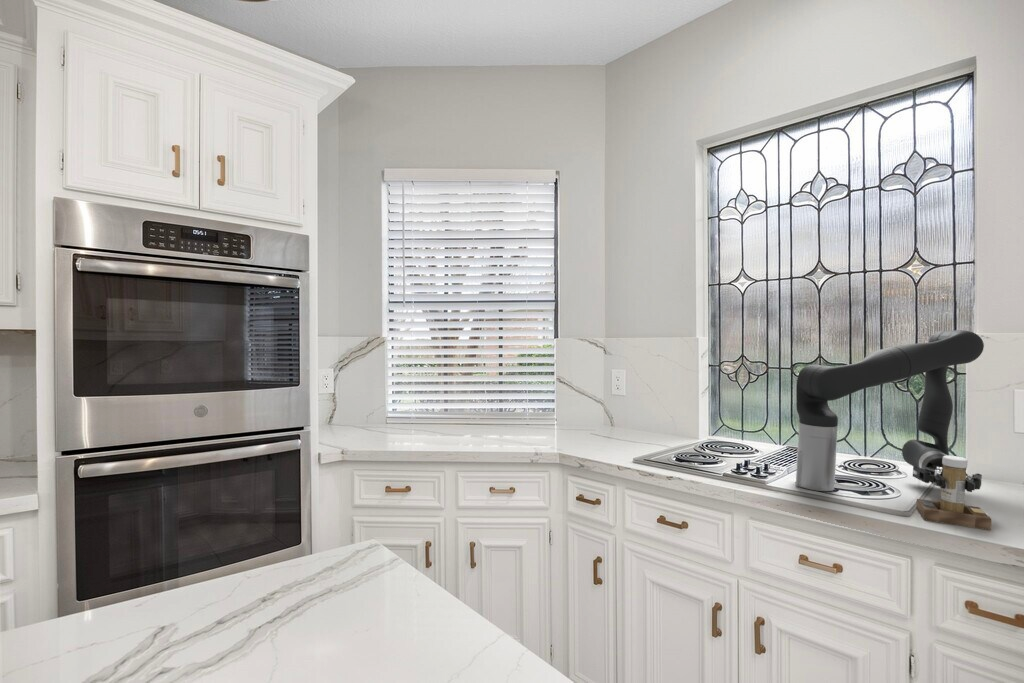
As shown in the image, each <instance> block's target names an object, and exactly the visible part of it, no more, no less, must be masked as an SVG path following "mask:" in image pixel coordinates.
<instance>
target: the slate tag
mask: <svg viewBox="0 0 1024 683" xmlns="http://www.w3.org/2000/svg"><path fill="white" fill-rule="evenodd" d="M921 503H922V504H923V505H924V506H928V507H935V506H934V505H933V503H932V502H926V501H921Z"/></svg>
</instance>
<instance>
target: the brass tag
mask: <svg viewBox="0 0 1024 683" xmlns="http://www.w3.org/2000/svg"><path fill="white" fill-rule="evenodd" d="M970 510H971V511H972V512H973V513H977V514H984V515H985V513H986V512H985V511H984V510H983V509H981V508H980V509H975V508H970ZM982 510H983V511H984V512H985V513H984V512H983V511H982Z"/></svg>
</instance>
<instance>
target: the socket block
mask: <svg viewBox="0 0 1024 683" xmlns="http://www.w3.org/2000/svg"><path fill="white" fill-rule="evenodd" d="M921 501H926V502H932V503H933V505H934V506H935V507H928V506H924V505H923V504H922V503H921ZM915 502H916V504H915V505H916V507H915V510H916V511H917V512H918V513H919V515H920V516H921V518H922V520H924V521H927V522H928V521H929V522H935V523H942V524H948V525H953V526H962V527H968V528H974V529H981V530H988V531H991V530H992V518H991V517H990V516H989V515H988V514H987V513H986V512H985V511H984V510H983V509H981V507H978V506H973V505H965V504H964V510H963V513H957V512H950V511H943V510H939V509H940V503H941V501H936V500H930V499H922V498H916V501H915ZM970 508H975V509H981V510H982V511H983V512H984V513H985V515H984V514H977V513H973V512H972V511H971V510H970Z"/></svg>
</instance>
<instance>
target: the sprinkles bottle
mask: <svg viewBox="0 0 1024 683" xmlns="http://www.w3.org/2000/svg"><path fill="white" fill-rule="evenodd" d="M968 462H969V461H968V459H967V458H965V457H961V456H957V455H950V454H949V455H947V456H943V459H942V464H943V475H942V477H943V478H944V479H945V489H944V488H940V502H941V503H940V509H939V510H943V511H950V512H957V513H963V510H964V505H965V499H966V498H965V497H966V490H965V486H966V473H967V468H968V465H969V464H968Z"/></svg>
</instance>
